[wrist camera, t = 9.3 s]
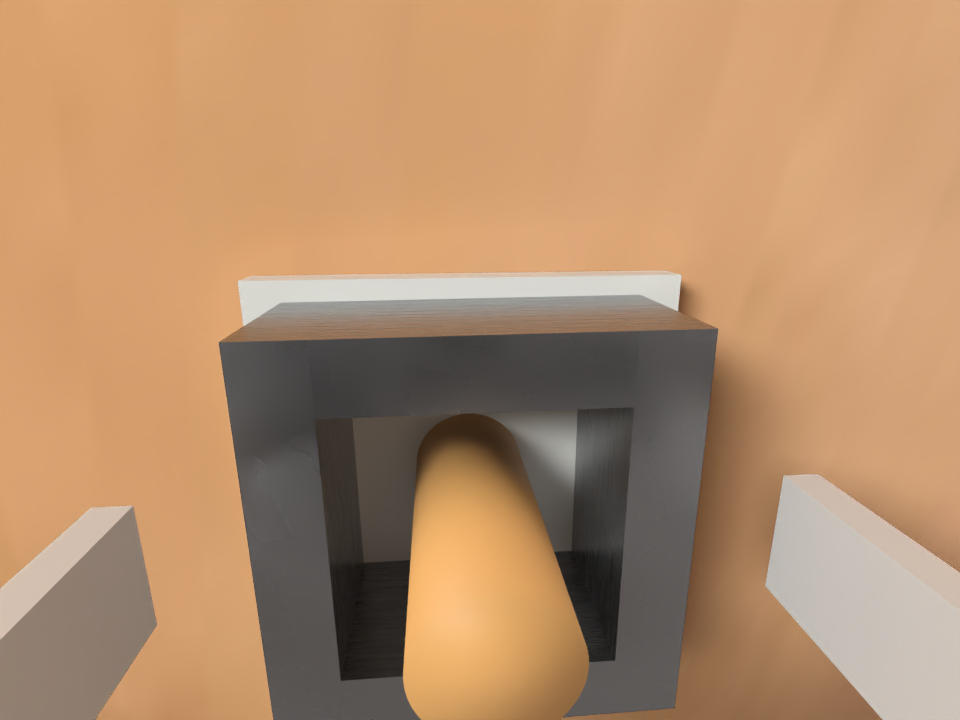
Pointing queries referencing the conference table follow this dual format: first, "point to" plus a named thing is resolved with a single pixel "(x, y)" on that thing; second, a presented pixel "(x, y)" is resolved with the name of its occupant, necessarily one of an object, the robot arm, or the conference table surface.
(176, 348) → the conference table surface
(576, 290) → the keeper
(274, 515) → the grey square frame
